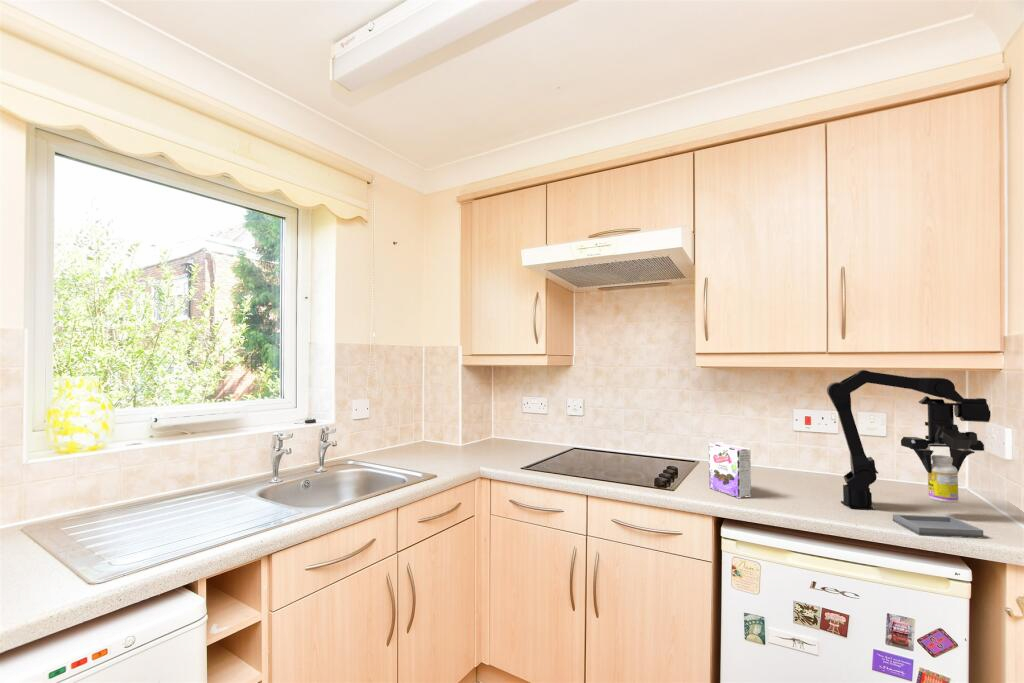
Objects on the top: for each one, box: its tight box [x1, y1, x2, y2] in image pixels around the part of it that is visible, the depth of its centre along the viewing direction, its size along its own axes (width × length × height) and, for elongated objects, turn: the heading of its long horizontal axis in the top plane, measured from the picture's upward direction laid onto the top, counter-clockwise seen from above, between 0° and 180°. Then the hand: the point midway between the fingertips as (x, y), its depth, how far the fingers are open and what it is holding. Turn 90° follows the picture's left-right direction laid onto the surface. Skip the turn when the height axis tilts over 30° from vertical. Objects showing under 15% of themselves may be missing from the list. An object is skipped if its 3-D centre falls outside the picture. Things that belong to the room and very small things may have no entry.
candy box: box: [708, 441, 752, 498], centre depth 167 cm, size 14×6×16 cm, turn 20°
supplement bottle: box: [927, 454, 959, 504], centre depth 141 cm, size 7×7×13 cm
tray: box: [892, 513, 984, 539], centre depth 131 cm, size 15×11×2 cm
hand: (942, 472), depth 141 cm, fingers closed on supplement bottle, 7 cm apart
